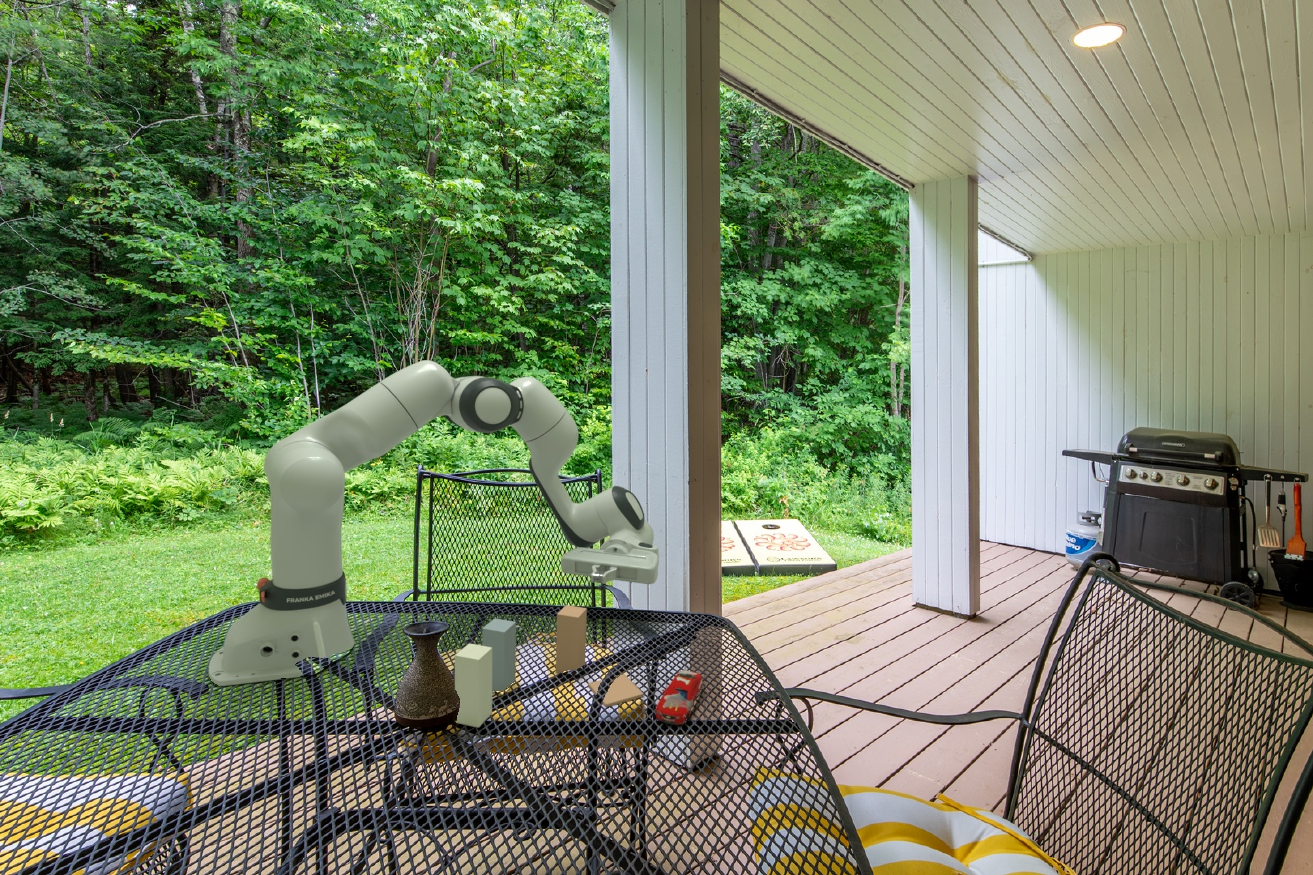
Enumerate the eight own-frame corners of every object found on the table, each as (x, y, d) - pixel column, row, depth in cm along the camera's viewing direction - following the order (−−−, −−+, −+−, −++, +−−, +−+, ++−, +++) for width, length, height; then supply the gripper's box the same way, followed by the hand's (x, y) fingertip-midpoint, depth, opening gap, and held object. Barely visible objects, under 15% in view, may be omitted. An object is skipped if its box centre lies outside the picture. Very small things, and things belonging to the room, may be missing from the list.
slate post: (503, 694, 105) (504, 632, 103) (482, 690, 106) (482, 628, 104) (515, 682, 109) (515, 622, 107) (494, 678, 110) (494, 618, 108)
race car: (683, 732, 97) (684, 709, 97) (650, 723, 99) (651, 700, 99) (707, 689, 110) (708, 668, 109) (677, 682, 111) (679, 661, 111)
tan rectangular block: (576, 676, 111) (578, 617, 110) (555, 672, 112) (556, 614, 111) (585, 665, 115) (586, 608, 113) (564, 661, 116) (565, 605, 114)
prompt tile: (605, 707, 103) (605, 704, 102) (587, 686, 108) (588, 683, 108) (643, 696, 106) (643, 693, 106) (624, 676, 112) (624, 674, 112)
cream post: (478, 727, 96) (478, 659, 94) (455, 722, 97) (454, 655, 95) (491, 713, 100) (492, 647, 98) (469, 708, 101) (469, 643, 99)
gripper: (574, 536, 139) (548, 557, 126) (665, 547, 134) (647, 570, 121) (574, 564, 140) (548, 587, 127) (664, 575, 135) (646, 601, 122)
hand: (597, 579), depth 124 cm, fingers closed
